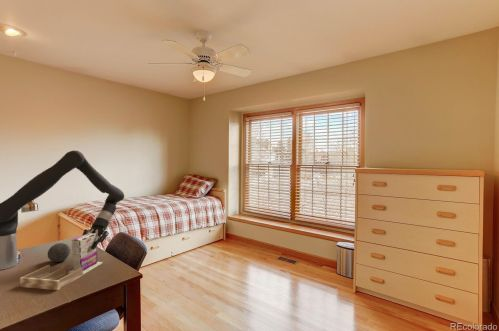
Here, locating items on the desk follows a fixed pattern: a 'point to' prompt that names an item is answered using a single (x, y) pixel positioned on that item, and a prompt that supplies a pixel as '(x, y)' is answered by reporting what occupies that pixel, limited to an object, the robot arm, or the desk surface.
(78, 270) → the lane rack
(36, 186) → the robot arm
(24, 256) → the desk surface
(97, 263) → the sage mat
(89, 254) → the candy bar box
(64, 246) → the decorative ball
